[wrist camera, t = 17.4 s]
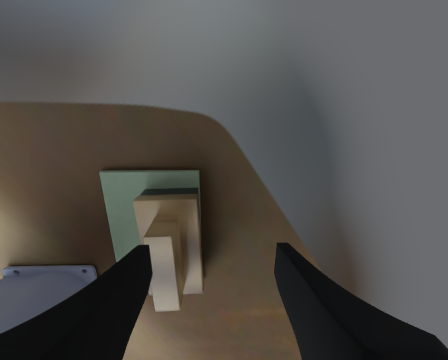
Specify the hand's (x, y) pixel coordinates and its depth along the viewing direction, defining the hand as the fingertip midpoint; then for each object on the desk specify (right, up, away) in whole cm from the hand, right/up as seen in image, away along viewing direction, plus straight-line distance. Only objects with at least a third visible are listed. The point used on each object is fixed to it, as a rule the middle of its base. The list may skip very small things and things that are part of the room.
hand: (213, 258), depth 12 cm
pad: (-6, -1, +10) cm, 12 cm away
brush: (-4, -1, +9) cm, 10 cm away
